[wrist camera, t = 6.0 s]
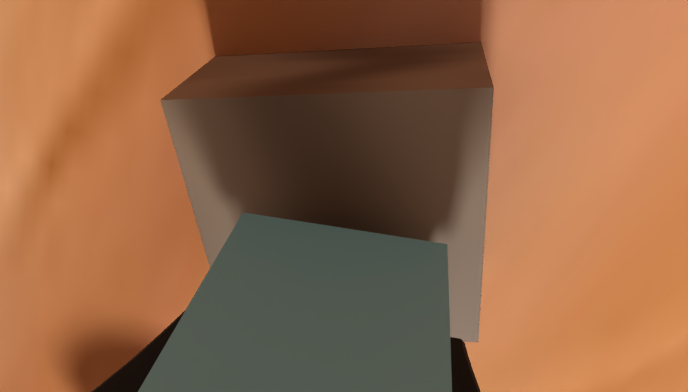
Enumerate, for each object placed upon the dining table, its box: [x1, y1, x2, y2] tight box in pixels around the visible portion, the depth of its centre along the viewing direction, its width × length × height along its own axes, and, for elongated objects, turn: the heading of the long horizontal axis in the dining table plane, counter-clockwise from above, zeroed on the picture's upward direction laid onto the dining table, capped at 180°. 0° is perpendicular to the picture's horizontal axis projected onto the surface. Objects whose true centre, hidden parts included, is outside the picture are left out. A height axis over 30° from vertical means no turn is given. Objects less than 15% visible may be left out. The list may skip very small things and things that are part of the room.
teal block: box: [138, 212, 452, 392], centre depth 11 cm, size 5×5×6 cm
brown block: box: [161, 42, 494, 342], centre depth 16 cm, size 8×8×4 cm
